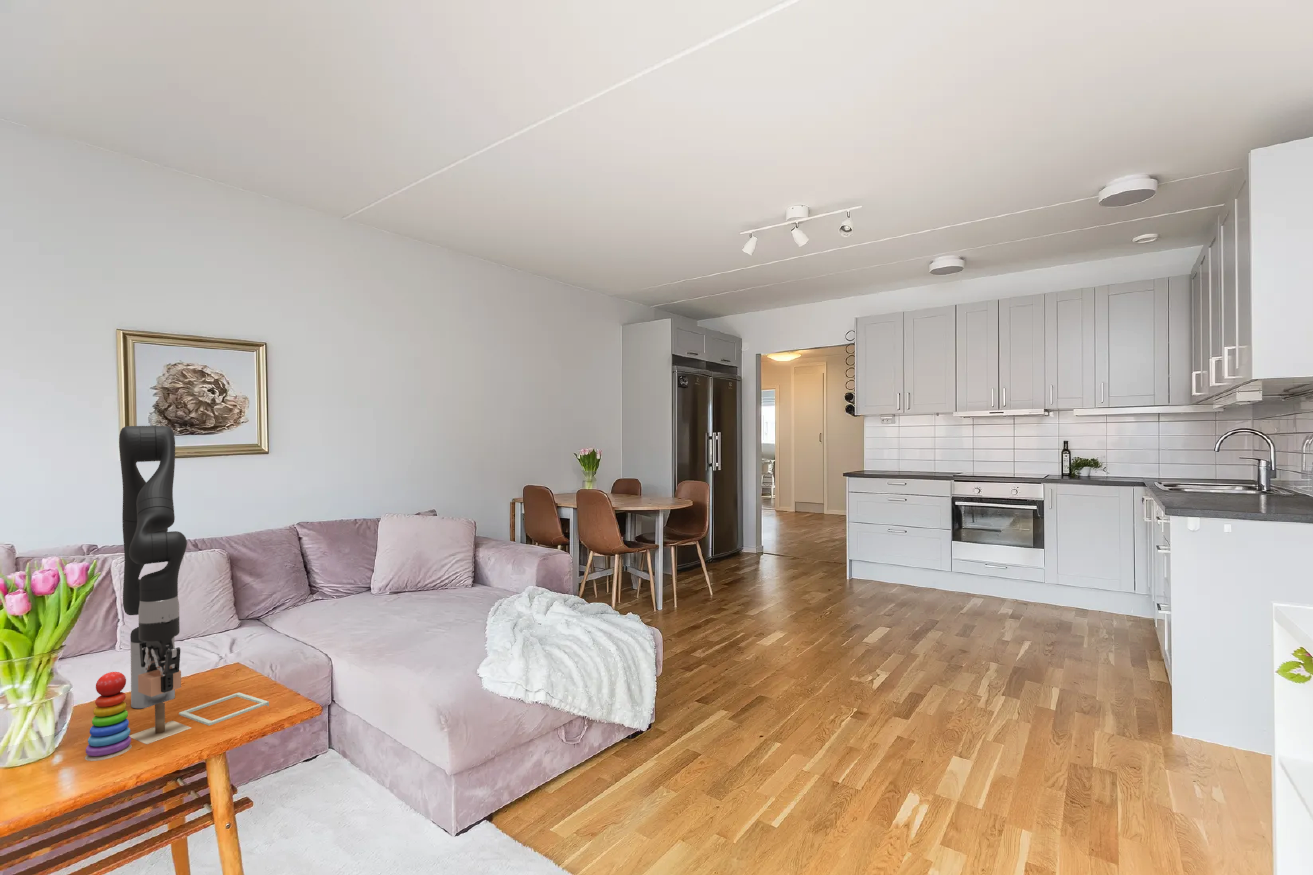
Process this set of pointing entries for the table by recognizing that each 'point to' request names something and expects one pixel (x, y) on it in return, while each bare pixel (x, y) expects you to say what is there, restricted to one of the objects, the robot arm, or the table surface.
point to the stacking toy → (109, 720)
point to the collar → (155, 682)
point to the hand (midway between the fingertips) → (159, 688)
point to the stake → (159, 727)
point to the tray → (208, 722)
